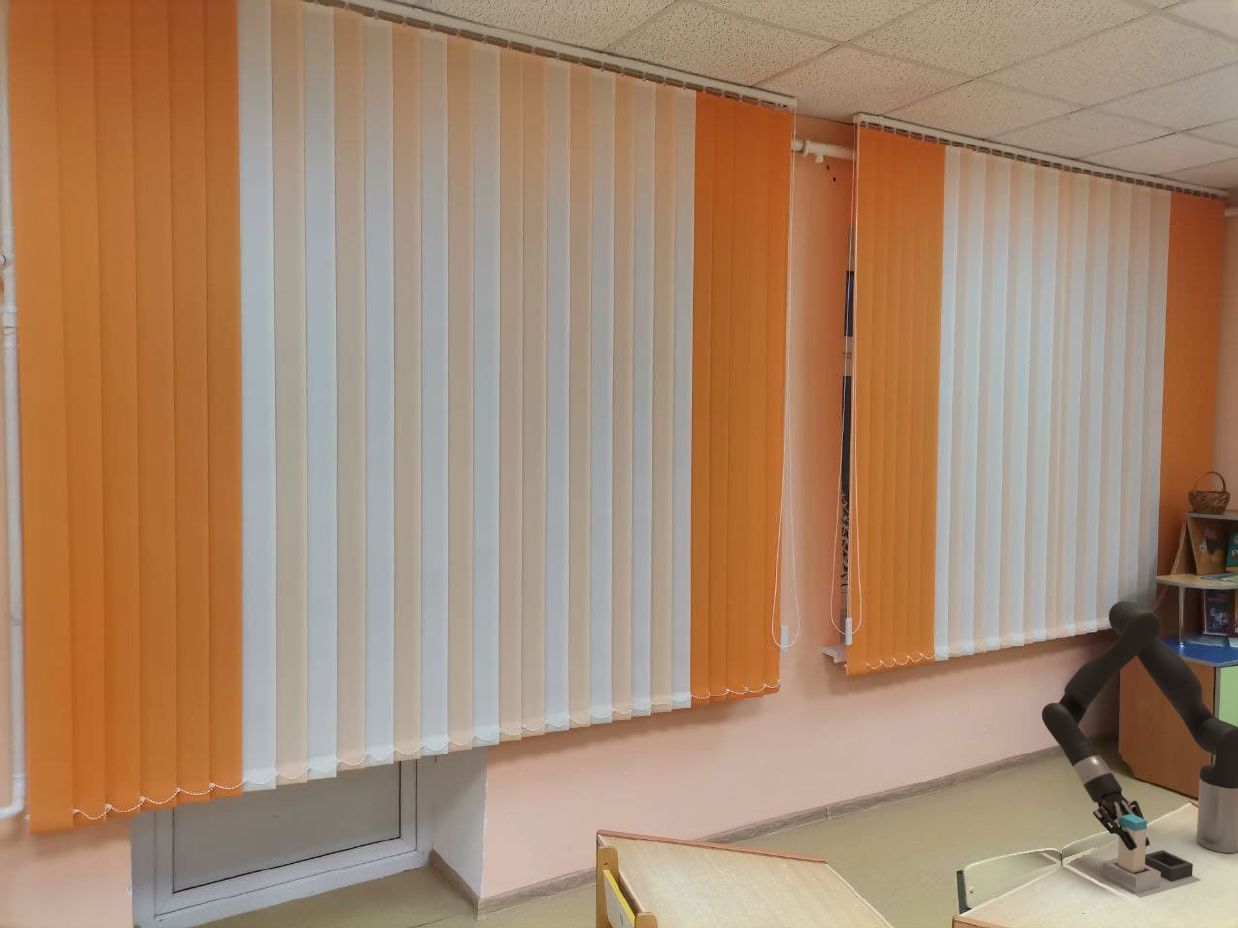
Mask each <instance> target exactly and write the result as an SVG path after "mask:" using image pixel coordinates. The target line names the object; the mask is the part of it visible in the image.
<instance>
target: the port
mask: <svg viewBox="0 0 1238 928" xmlns="http://www.w3.org/2000/svg"><path fill="white" fill-rule="evenodd" d="M1102 871H1103V875H1102V876H1103V877H1105V878H1107V879H1109V880H1111V881H1113V882H1115V883H1117V884H1118V885H1120V886H1122V887H1124V888H1126V889H1128V890H1130V891H1132V892H1134V893H1139V892H1142V891H1146V890H1149V889H1153V888H1157V887H1160V877H1161V872H1160V871H1157V870H1155V869H1153V868H1151V867H1149V866H1147V865H1145V869H1144V870H1142V871H1138V872H1134V873H1133V872H1131V871H1129V870H1127V869H1125V868H1123V867H1121V866H1119V865H1118V857H1117V858H1115V859H1114V858H1113V859H1110V860H1105V861H1103V862H1102Z"/></svg>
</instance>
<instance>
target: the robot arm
mask: <svg viewBox="0 0 1238 928" xmlns="http://www.w3.org/2000/svg"><path fill="white" fill-rule="evenodd" d="M1108 622H1109V625H1110V627H1111V629H1112V630H1113V632H1115V633H1116V634H1117V635H1118V639H1117V640H1116V641H1115V642H1114V643H1113V644H1112V645H1111V646H1110V647H1109V648H1107V650H1105V651H1104V652H1102V653H1101V654H1099V655H1097V656H1095V657H1093V658H1092V659H1090V660H1088V661H1087V662H1086V663H1084V664H1082V665H1081V666H1080V667H1079V668H1078V670H1077V671H1076V673H1074V675H1073V676H1072V677H1071V678H1070V679H1069V681H1068V682H1067V684H1066V685H1065V687H1064V695H1063V696H1062V697H1061V698H1060V699H1059V701H1058V702H1050V703H1048V704H1046V705H1045V706H1044V707H1043V709H1042V710H1041V718H1042V722H1043V723H1044V726H1045V728H1046V729H1047V730H1048V731H1049V733H1050V735H1051V736H1052V737H1053V738H1054V740H1055V741H1056V742H1057V744H1058V745H1059V746H1060V747H1061V749H1062V750H1063V752H1064V755H1065V756H1066V758H1067V759H1068V761H1069V763H1070V764H1071V766H1072V768H1073V769H1074V771H1075V773H1076V776H1077V778H1078V780H1079V781H1080V783H1081V784H1082V786H1083V788H1084V789H1085V791H1086V792H1087V794H1088V796H1089V797H1090V799H1091V801H1092V802H1094V803H1096V804H1097V806H1098V808H1097V809H1096V810H1094V811H1093V812H1092V814H1093V816H1094V817H1095V818H1096V819H1097V820H1098V821H1099V823H1100V824H1101V825H1103V826H1102V827H1104V828H1105V829H1106V831H1107V832H1109V834H1112V835H1113V834H1116V835H1117V836H1118V837H1119V836H1120V838H1121V839H1122V841H1123V843H1124V844H1125V846H1126V847H1127V848H1128V849H1129V850H1134V849H1135V848H1137V845H1136V843H1135V842H1134V840H1133V839H1132V837H1131V836H1130V834H1129V832H1126V831H1127V829H1126V827H1125V825H1124V824H1123V819H1122V818H1121V816H1124V815H1128V814H1133V815H1135V816H1138V817H1140V818H1142V819H1145V818H1144V816H1143V812H1142V810H1141V808H1140V805H1139V803H1138V800H1132V801H1129V800H1127V798H1125V797H1124V796H1123V794H1122V792H1123V788H1122V786H1121V785H1120V783H1119V782H1118V780H1117V779H1116V777H1115V775H1114V774H1113V773H1112V771H1111V769H1110V768H1109V766H1108V765H1107V763H1106V762H1105V761H1104V759H1103V758H1102V757H1101V756H1100V754H1099V752H1098V751H1097V749H1096V748H1095V746H1094V745H1093V743H1092V742H1091V740H1090V739H1089V738H1088V737H1087V735H1085V734H1083V732H1082V730H1081V729H1080V727H1079V724H1080V723H1081V722H1082V720H1083V718H1084V716H1085V714H1086V712H1087V710H1088V709H1089V707H1090V704H1092V703H1093V702H1094V701H1095V699H1097V697H1098V695H1099V694H1101V692H1102V691H1103V689H1104V688H1105V687H1106V686H1107V684H1108V683H1109V682H1110V681H1111V680H1112V679H1113V678H1114V677H1115V676H1116V675H1117V673H1119V672H1120V671H1121V670H1122V669H1123V668H1124V667H1126V666H1127V665H1128V664H1129V663H1130V662H1131V661H1132V660H1133V659H1134V658H1135V657H1137V659H1138V660H1139V661H1140V664H1141V665H1142V666H1143V667H1144V669H1145V671H1146V672H1147V673H1148V675H1149V676H1150V678H1151V679H1152V680H1153V682H1154V684H1155V685H1156V687H1158V689H1159V691H1161V693H1162V695H1164V697H1165V698H1166V699H1167V700H1168V702H1169V703H1170V705H1172V707H1173V709H1174V710H1175V711H1176V712H1177V714H1178V715H1179V716H1180V718H1181V720H1182V721H1183V722H1184V724H1185V726H1186V728H1187V729H1188V731H1189V734H1190V735H1191V737H1192V739H1193V740H1194V741H1195V743H1196V745H1197V746H1198V747H1200V748H1201V749H1202V750H1203V751H1205V752H1206V753H1209V754H1212V755H1214V756H1215V759H1214V765H1213V764H1212V765H1204V766H1203V765H1202V767H1201V768H1200V771H1199V779H1198V780H1199V781H1198V782H1199V784H1198V785H1199V786H1198V787H1199V788H1198V806H1197V807H1198V808H1197V825H1196V843H1198V844H1199V845H1200V846H1202V847H1204V848H1205V849H1209V850H1211V851H1214V852H1217V853H1223V854H1236V853H1238V726H1237V725H1234V724H1231V723H1230V722H1227V721H1224V720H1222V719H1219V718H1218V717H1216V716H1215V715H1214V713H1212V711H1210V709H1209V708H1208V707H1207V705H1206V704H1205V703H1204V701H1203V686H1202V684H1201V681H1200V679H1199V678H1198V676H1197V675H1196V674H1195V672H1194V671H1193V670H1192V668H1191V667H1190V666H1189V665H1188V663H1187V662H1186V661H1185V660H1184V659H1183V658H1182V657H1181V656H1180V655H1179V654H1177V652H1175V651H1174V650H1173V649H1172V648H1171V647H1170V646H1168V645H1167V643H1166V642H1164V641H1163V640H1162V639H1161V638H1160V637H1159V636H1158V635H1159V633H1160V631H1161V630H1162V629H1161V628H1162V623H1161V622H1162V621H1161V618H1160V617H1159V616H1158V614H1156V613H1155V612H1154V611H1152V610H1150V609H1149V608H1147V607H1144V606H1142V605H1141V604H1139V603H1136V602H1134V601H1130V600H1129V601H1128V600H1121V601H1119V602H1118V601H1117V602H1116V603H1114V604H1112V606H1111V608H1110V609H1109V611H1108ZM1150 845H1151V842H1150V840H1149V838H1148V836H1147V835H1146V847H1148V846H1150Z"/></svg>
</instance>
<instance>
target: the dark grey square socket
mask: <svg viewBox="0 0 1238 928" xmlns="http://www.w3.org/2000/svg"><path fill="white" fill-rule="evenodd" d="M1145 865H1147V866H1149V867H1151V868H1153V869H1155V870H1157V871H1160V872H1161V877H1163V878H1165V879H1167V880H1169V881H1171V882H1172V881H1176V880H1179V879H1183V878H1186V877H1190V876H1193V867H1194V866H1193V865H1194V864H1193V863H1191V862H1190V861H1188V860H1185V859H1183V858H1181V857H1179V856H1176V854H1175V855H1174V854H1172V853H1170V852H1167V851H1165V850H1163V849H1161V850H1157V851H1154V852H1149V853H1145Z"/></svg>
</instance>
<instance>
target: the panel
mask: <svg viewBox="0 0 1238 928" xmlns="http://www.w3.org/2000/svg"><path fill="white" fill-rule="evenodd" d="M1094 875H1096V876H1098V877H1099V878H1102V879H1104V880H1106V881H1107V882H1110V883H1112V884H1113V885H1115V886H1118V887H1119V888H1120V889H1123V890H1125V891H1126V892H1129V893H1130V894H1132V895H1134V896H1136V897H1138V898H1139V899H1140V898H1144V897H1148V896H1152V895H1155V894H1159V893H1161V892H1165V891H1169V890H1172V889H1176V888H1179V887H1182V886H1186V885H1190V884H1194V883H1197V882H1200V881H1202V879H1200V878H1198V877H1196V876H1195V875H1192V876H1190V877H1186V878H1183V879H1179V880H1176V881H1172V882H1171V881H1169V880H1167V879H1165V878H1163V877H1160V887H1157V888H1153V889H1149V890H1146V891H1142V892H1139V893H1134V892H1132V891H1130V890H1128V889H1126V888H1124V887H1122V886H1120V885H1118V884H1117V883H1115V882H1113V881H1111V880H1109V879H1107V878H1105V877H1103V876H1102V875H1103V870H1101V871H1097V872H1095V873H1094Z"/></svg>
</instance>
